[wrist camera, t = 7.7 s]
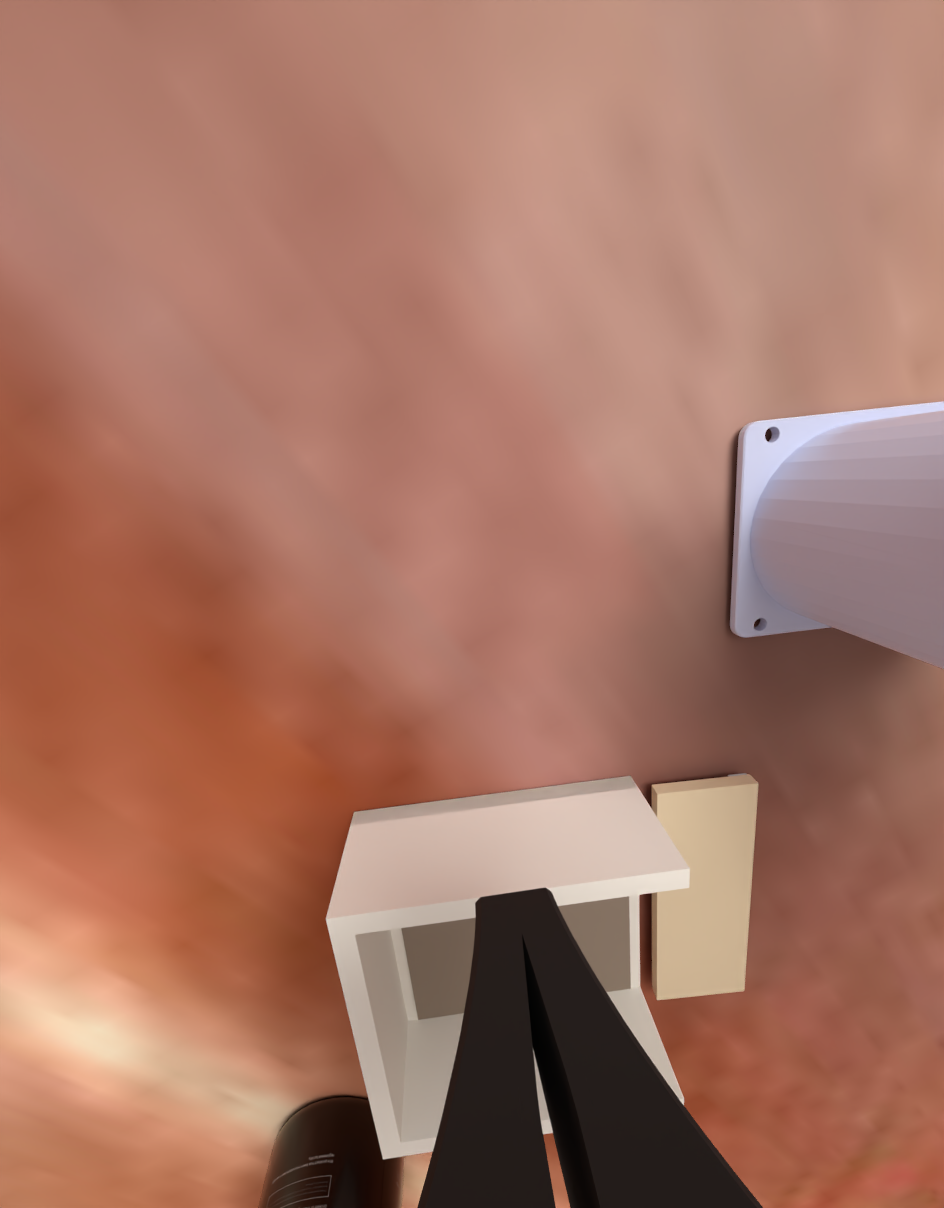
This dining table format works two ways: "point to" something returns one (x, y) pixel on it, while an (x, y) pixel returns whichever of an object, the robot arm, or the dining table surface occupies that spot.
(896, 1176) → the dining table surface
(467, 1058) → the robot arm
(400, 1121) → the carton
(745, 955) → the flap
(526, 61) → the dining table surface
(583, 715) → the dining table surface
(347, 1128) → the supplement bottle
